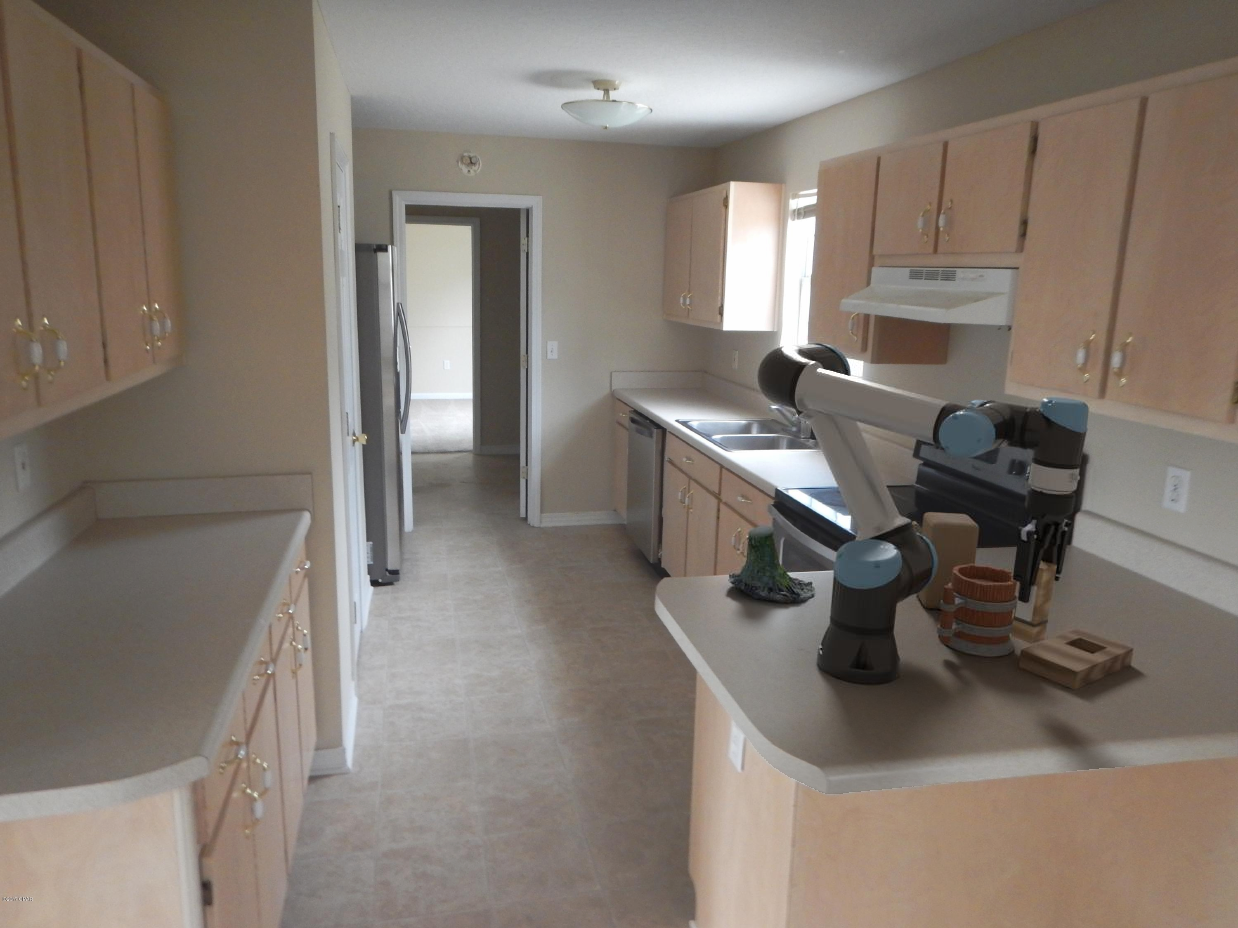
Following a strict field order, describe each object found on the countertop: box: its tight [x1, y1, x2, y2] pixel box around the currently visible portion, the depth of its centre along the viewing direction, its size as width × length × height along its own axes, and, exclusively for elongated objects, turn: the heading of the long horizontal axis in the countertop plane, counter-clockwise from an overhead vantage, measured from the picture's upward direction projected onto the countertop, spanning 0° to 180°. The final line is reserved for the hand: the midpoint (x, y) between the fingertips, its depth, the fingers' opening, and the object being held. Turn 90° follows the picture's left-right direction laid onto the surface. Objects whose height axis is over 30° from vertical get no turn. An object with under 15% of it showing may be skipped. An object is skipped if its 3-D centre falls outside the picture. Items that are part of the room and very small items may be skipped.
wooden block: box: [916, 511, 980, 610], centre depth 200 cm, size 10×10×20 cm
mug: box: [936, 564, 1018, 658], centre depth 177 cm, size 14×19×15 cm
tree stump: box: [728, 525, 816, 604], centre depth 204 cm, size 18×20×18 cm
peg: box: [1010, 560, 1057, 645], centre depth 157 cm, size 4×4×14 cm
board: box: [1018, 628, 1134, 690], centre depth 171 cm, size 20×11×4 cm, turn 124°
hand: (1030, 615), depth 158 cm, fingers closed on peg, 4 cm apart
